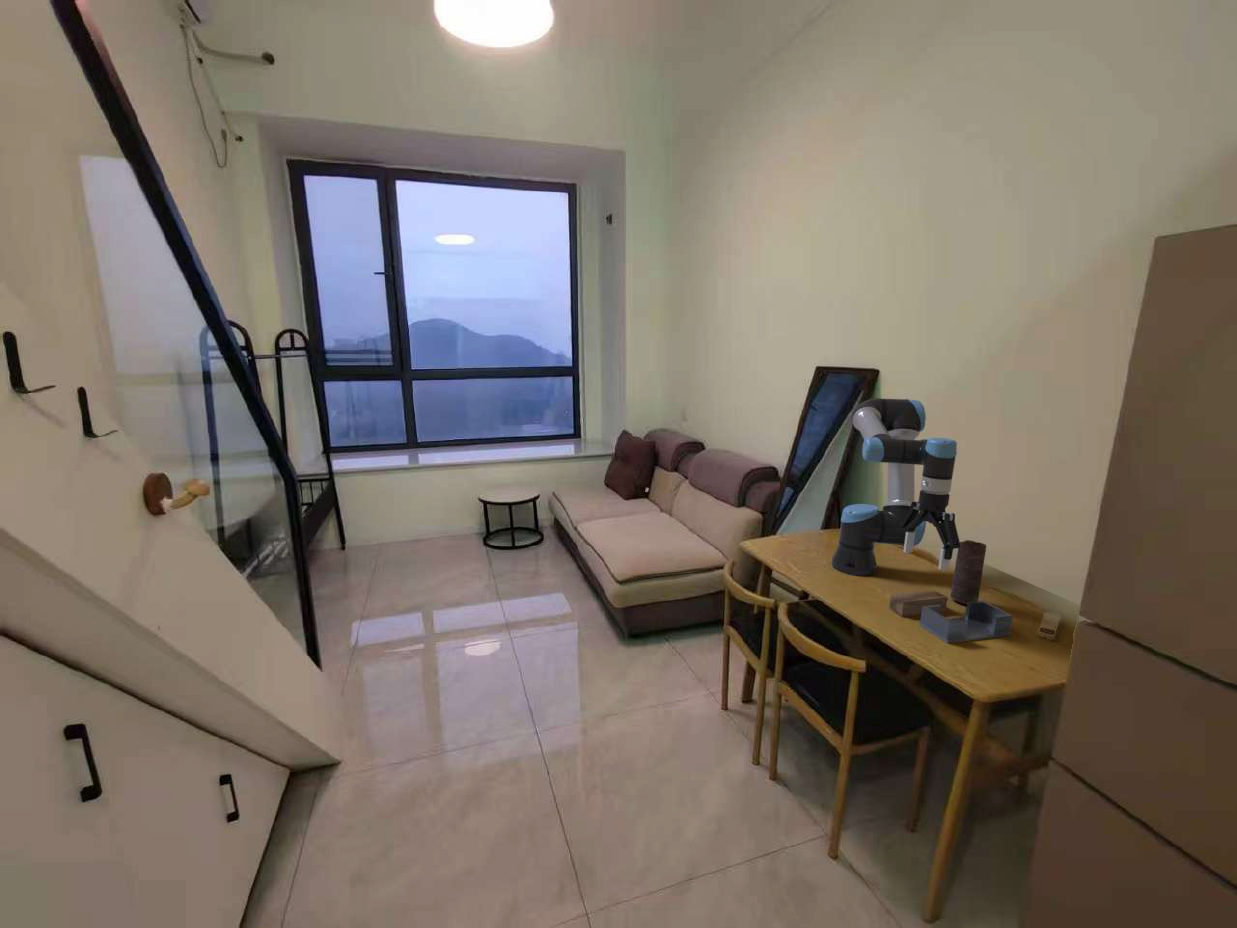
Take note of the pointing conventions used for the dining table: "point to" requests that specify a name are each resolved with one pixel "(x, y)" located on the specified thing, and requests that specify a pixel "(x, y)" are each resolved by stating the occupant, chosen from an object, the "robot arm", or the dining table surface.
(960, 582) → the candle
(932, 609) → the bracket plate
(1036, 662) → the dining table surface
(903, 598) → the rail bar
